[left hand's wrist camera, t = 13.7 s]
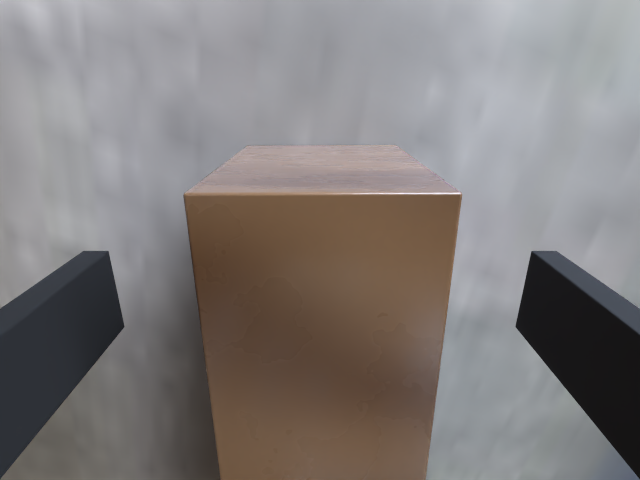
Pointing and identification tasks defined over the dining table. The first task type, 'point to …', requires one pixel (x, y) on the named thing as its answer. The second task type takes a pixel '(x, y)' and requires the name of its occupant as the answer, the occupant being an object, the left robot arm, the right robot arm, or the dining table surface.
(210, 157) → the dining table surface
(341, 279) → the beam
